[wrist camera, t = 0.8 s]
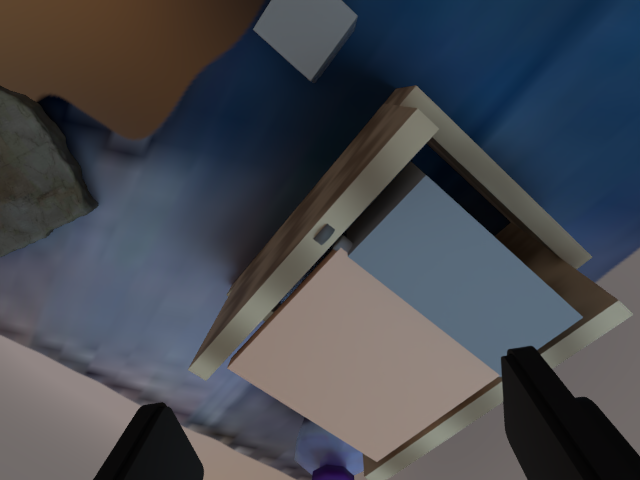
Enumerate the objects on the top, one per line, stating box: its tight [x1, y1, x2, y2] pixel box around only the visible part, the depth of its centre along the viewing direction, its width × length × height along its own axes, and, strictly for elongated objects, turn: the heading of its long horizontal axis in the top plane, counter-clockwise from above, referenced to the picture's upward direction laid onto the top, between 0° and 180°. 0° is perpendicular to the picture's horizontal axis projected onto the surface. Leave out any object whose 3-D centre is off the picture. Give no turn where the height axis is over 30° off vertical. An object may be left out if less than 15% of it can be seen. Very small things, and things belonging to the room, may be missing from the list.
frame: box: [188, 86, 633, 480], centre depth 28 cm, size 25×18×14 cm
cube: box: [253, 0, 358, 83], centre depth 25 cm, size 5×5×5 cm
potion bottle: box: [295, 417, 364, 480], centre depth 37 cm, size 9×9×12 cm
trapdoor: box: [228, 162, 583, 462], centre depth 23 cm, size 18×14×4 cm
